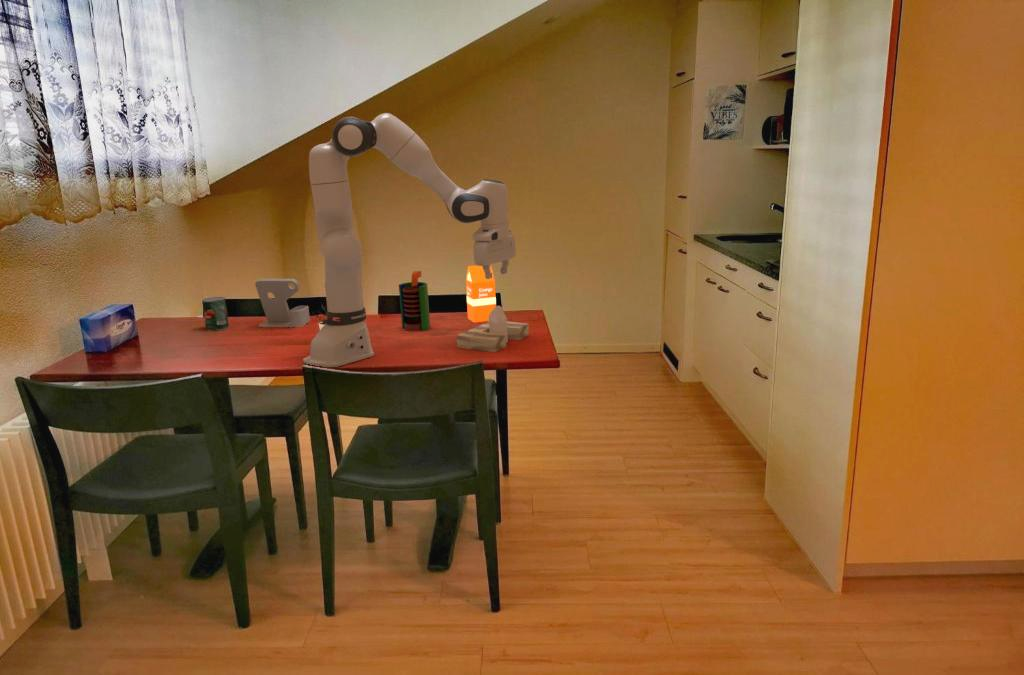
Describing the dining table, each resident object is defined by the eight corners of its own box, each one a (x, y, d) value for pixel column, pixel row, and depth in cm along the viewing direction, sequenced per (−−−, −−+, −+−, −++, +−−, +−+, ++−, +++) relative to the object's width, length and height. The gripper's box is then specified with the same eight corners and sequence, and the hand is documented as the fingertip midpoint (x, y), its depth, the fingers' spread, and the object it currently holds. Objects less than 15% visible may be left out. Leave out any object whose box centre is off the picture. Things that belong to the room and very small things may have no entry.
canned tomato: (201, 330, 266) (197, 301, 263) (214, 325, 273) (210, 296, 270) (220, 331, 264) (216, 301, 261) (233, 326, 271) (229, 297, 269)
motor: (397, 330, 257) (393, 274, 252) (409, 324, 265) (405, 269, 260) (424, 331, 254) (420, 274, 249) (434, 325, 262) (431, 270, 257)
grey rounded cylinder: (487, 308, 232) (488, 304, 238) (488, 344, 235) (490, 339, 241) (505, 307, 232) (507, 303, 237) (507, 344, 235) (508, 339, 240)
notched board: (495, 352, 226) (494, 339, 225) (457, 347, 233) (456, 335, 232) (528, 335, 244) (528, 323, 243) (492, 331, 251) (492, 320, 250)
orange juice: (467, 318, 271) (464, 264, 266) (489, 315, 274) (487, 262, 269) (473, 322, 264) (471, 267, 259) (496, 320, 267) (494, 265, 262)
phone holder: (313, 321, 274) (308, 274, 269) (300, 328, 265) (295, 279, 260) (270, 321, 277) (265, 274, 273) (256, 327, 268) (250, 279, 263)
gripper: (503, 228, 239) (504, 270, 242) (469, 235, 222) (471, 280, 225) (520, 229, 236) (520, 271, 239) (487, 236, 219) (488, 282, 222)
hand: (496, 276), depth 232 cm, fingers open, 8 cm apart
